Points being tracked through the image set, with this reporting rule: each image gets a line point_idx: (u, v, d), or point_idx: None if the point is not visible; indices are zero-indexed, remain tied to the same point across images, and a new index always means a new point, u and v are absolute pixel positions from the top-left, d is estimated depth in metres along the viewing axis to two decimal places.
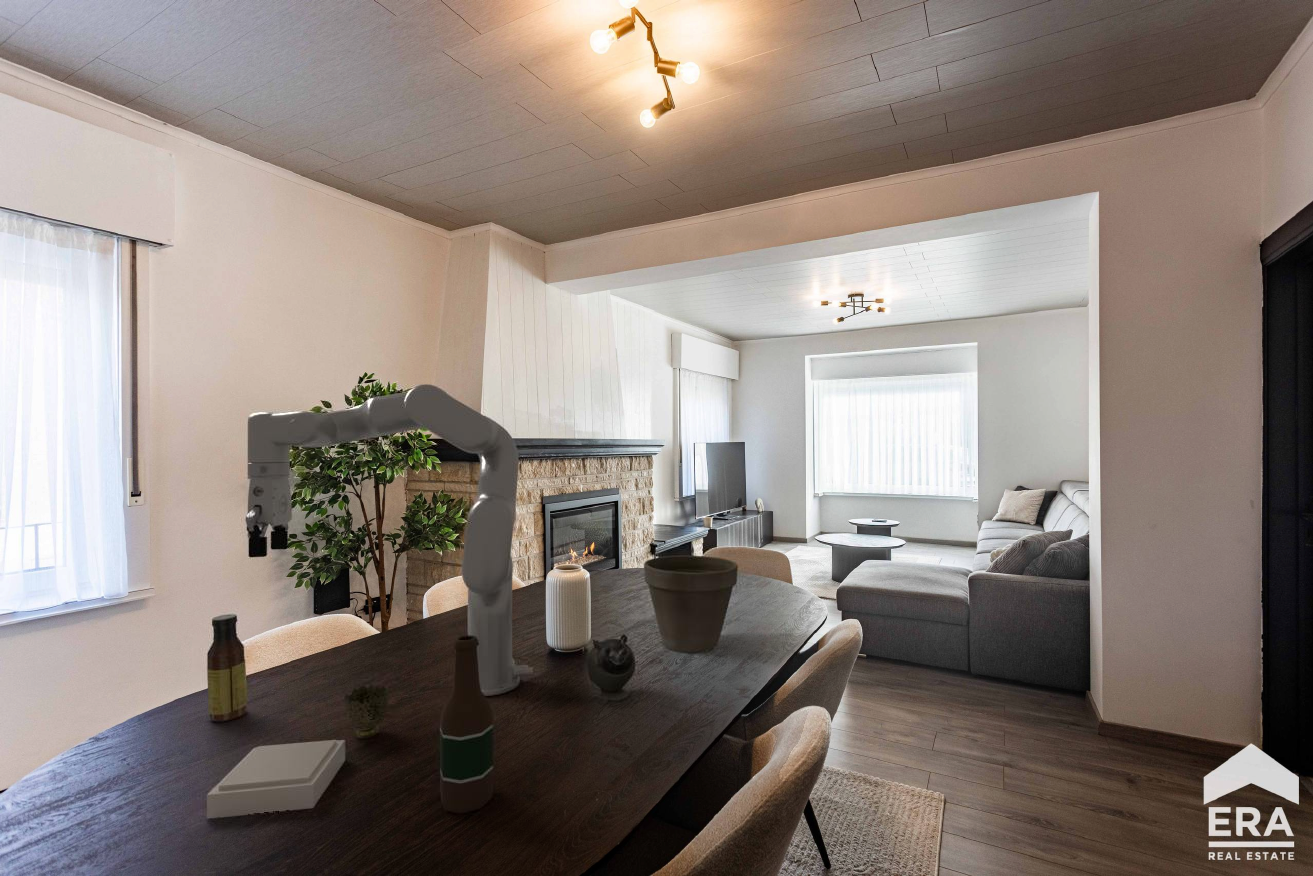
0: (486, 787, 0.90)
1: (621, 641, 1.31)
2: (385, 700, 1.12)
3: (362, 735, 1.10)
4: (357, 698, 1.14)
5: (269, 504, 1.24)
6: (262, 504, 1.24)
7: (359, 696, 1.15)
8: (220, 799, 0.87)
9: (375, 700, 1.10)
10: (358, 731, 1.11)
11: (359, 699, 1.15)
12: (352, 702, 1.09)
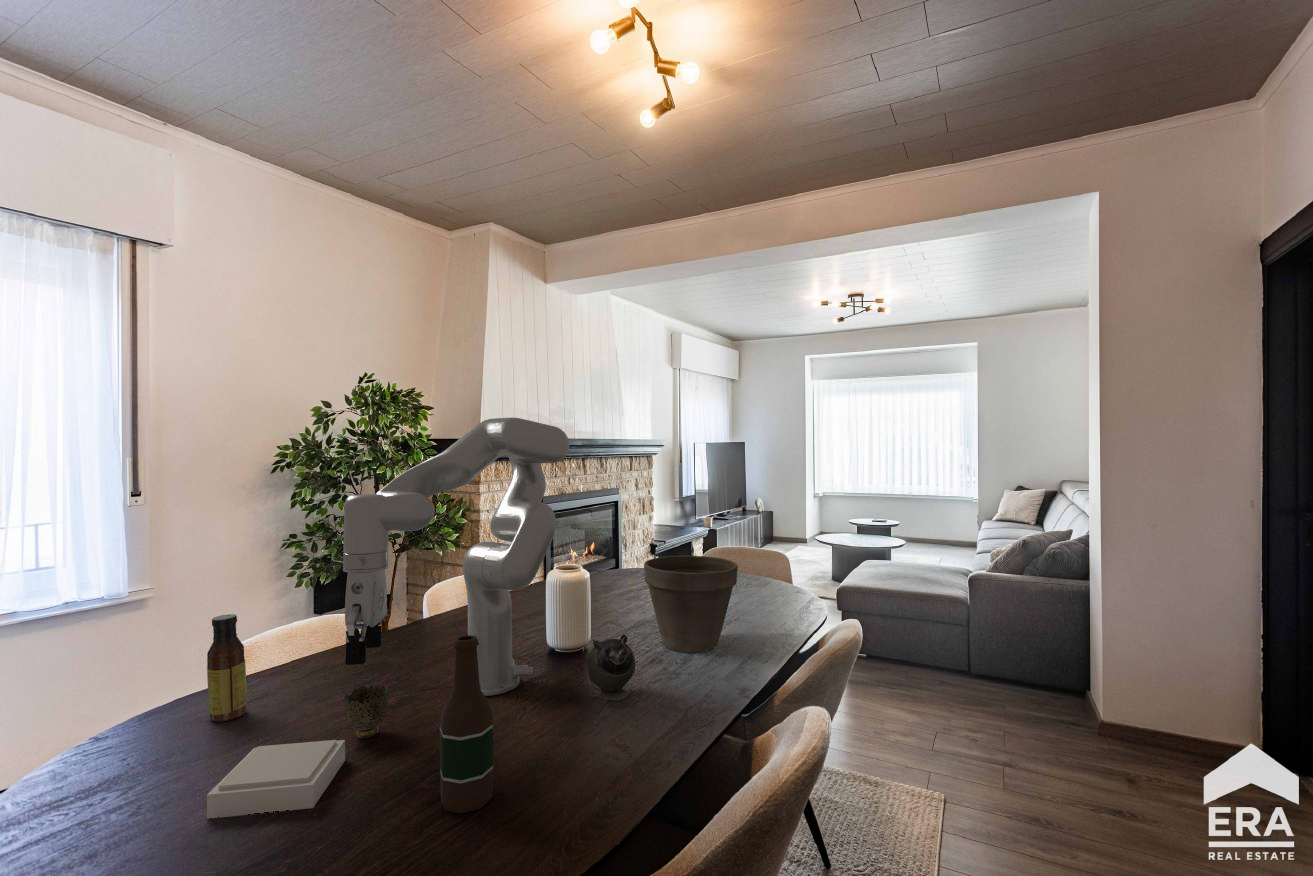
0: (486, 787, 0.90)
1: (621, 641, 1.31)
2: (385, 700, 1.12)
3: (362, 735, 1.10)
4: (357, 698, 1.14)
5: (369, 603, 1.08)
6: (362, 603, 1.08)
7: (359, 696, 1.15)
8: (220, 799, 0.87)
9: (375, 700, 1.10)
10: (358, 731, 1.11)
11: (359, 699, 1.15)
12: (352, 702, 1.09)
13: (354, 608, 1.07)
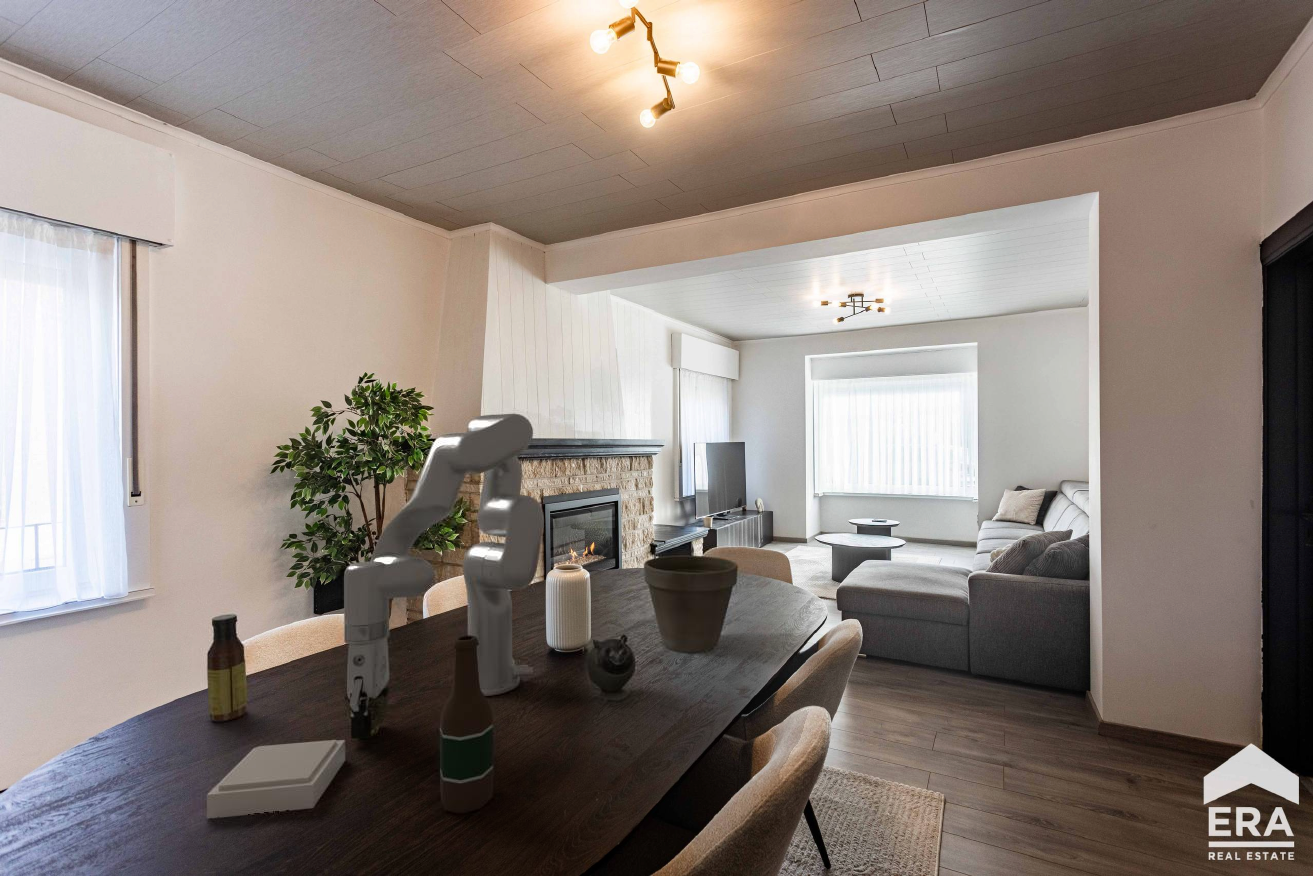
0: (486, 787, 0.90)
1: (621, 641, 1.31)
2: (385, 700, 1.12)
3: None
4: None
5: (371, 675, 1.08)
6: (364, 675, 1.08)
7: None
8: (220, 799, 0.87)
9: (375, 700, 1.10)
10: None
11: None
12: None
13: (356, 684, 1.07)
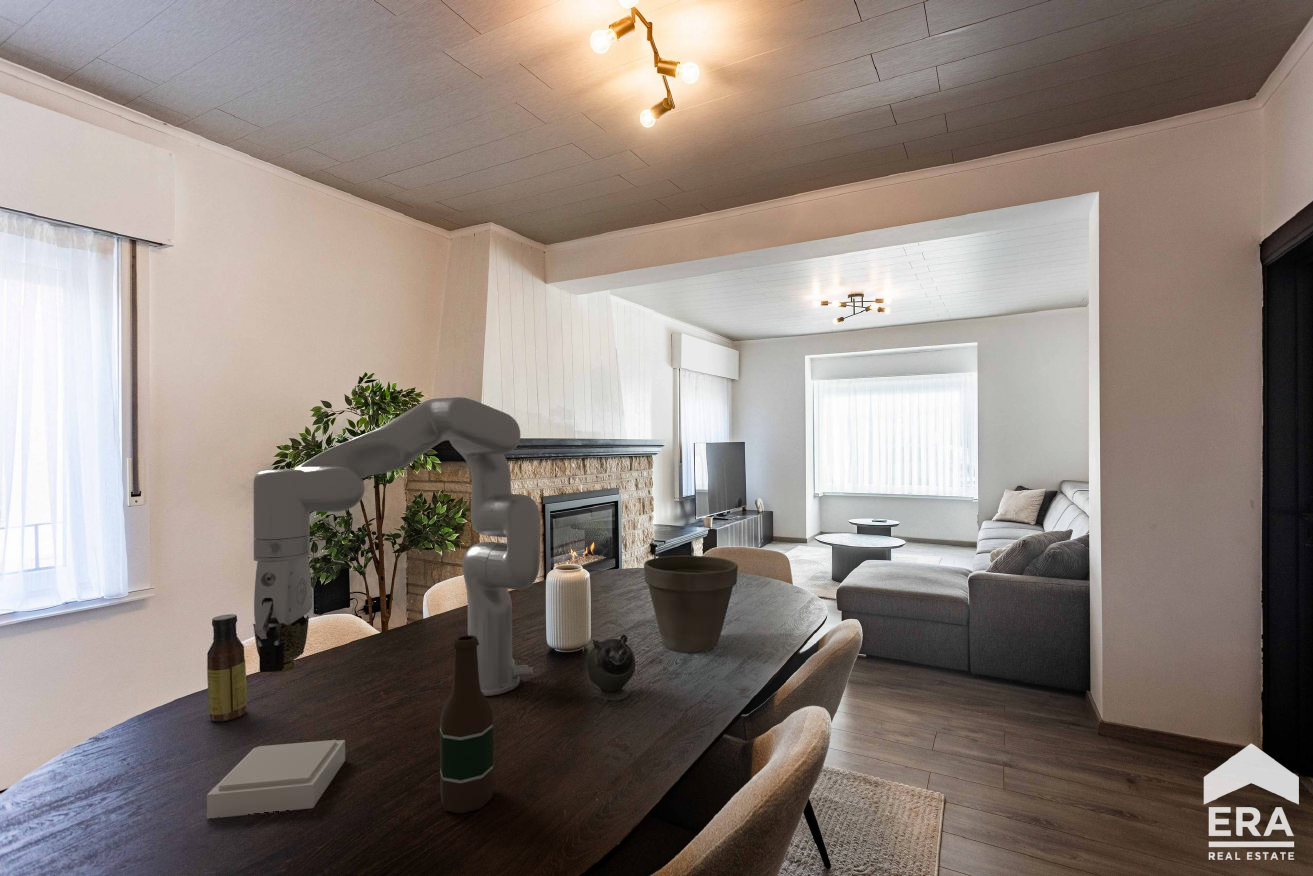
0: (486, 787, 0.90)
1: (621, 641, 1.31)
2: (302, 629, 0.95)
3: None
4: (272, 629, 0.98)
5: (283, 596, 0.91)
6: (274, 597, 0.91)
7: None
8: (220, 799, 0.87)
9: (289, 627, 0.93)
10: None
11: None
12: None
13: (265, 606, 0.90)
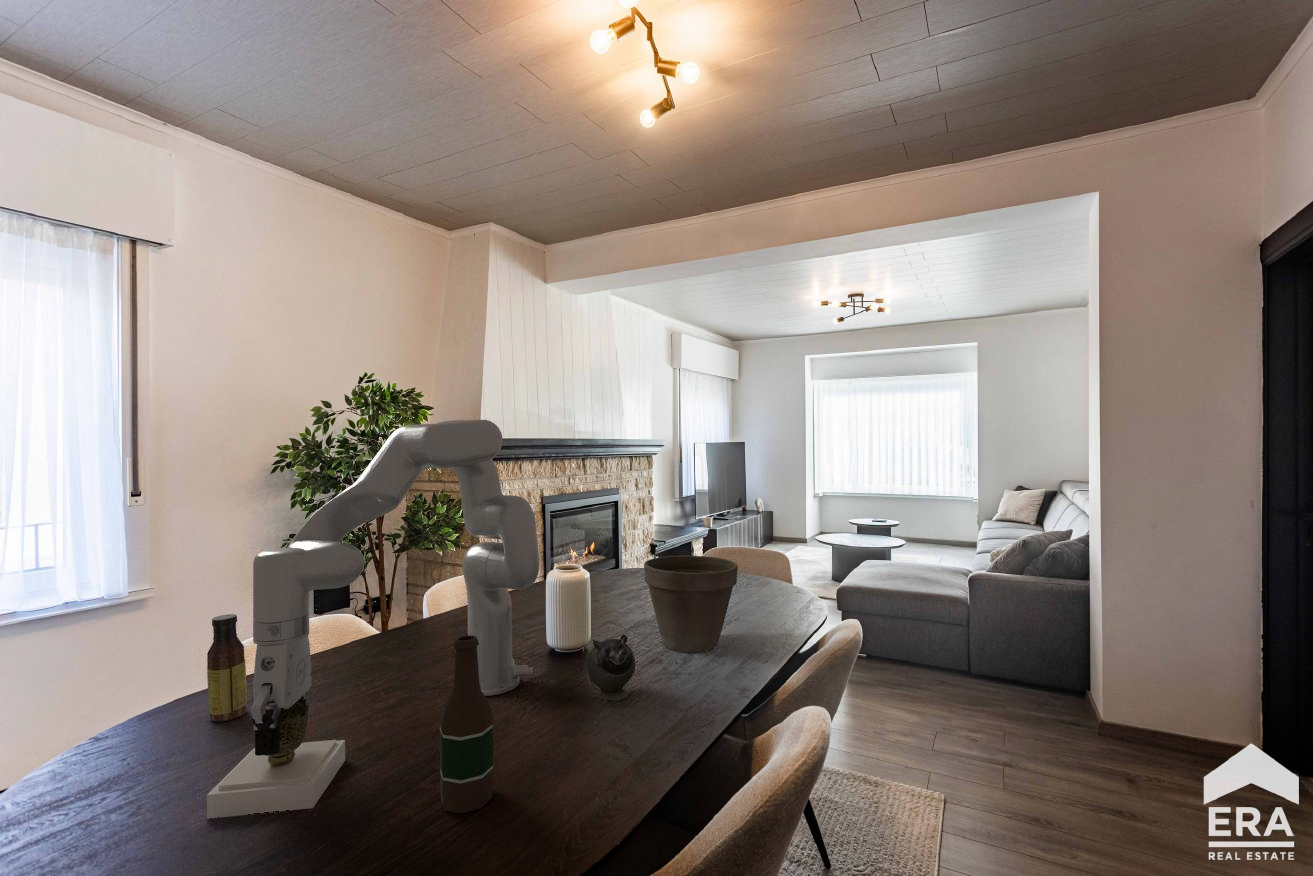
0: (486, 787, 0.90)
1: (621, 641, 1.31)
2: (302, 720, 0.95)
3: (274, 762, 0.93)
4: (271, 718, 0.97)
5: (283, 681, 0.91)
6: (273, 682, 0.91)
7: None
8: (220, 799, 0.87)
9: (289, 720, 0.93)
10: (269, 757, 0.94)
11: None
12: None
13: (263, 689, 0.90)
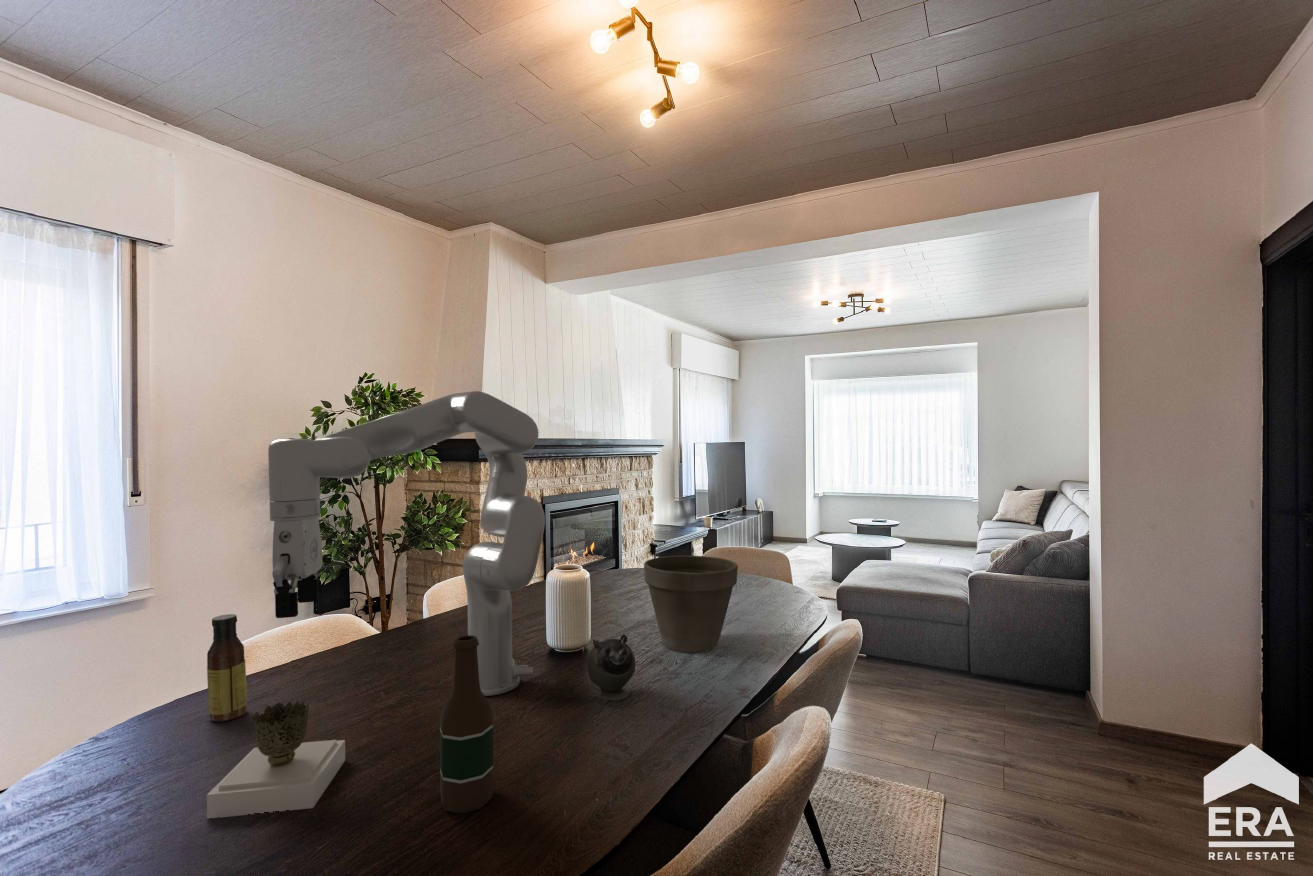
0: (486, 787, 0.90)
1: (621, 641, 1.31)
2: (302, 720, 0.95)
3: (274, 762, 0.93)
4: (271, 718, 0.97)
5: (299, 552, 1.01)
6: (291, 552, 1.01)
7: (274, 715, 0.97)
8: (220, 799, 0.87)
9: (289, 721, 0.93)
10: (269, 757, 0.94)
11: (274, 719, 0.97)
12: (260, 723, 0.92)
13: (282, 558, 1.00)
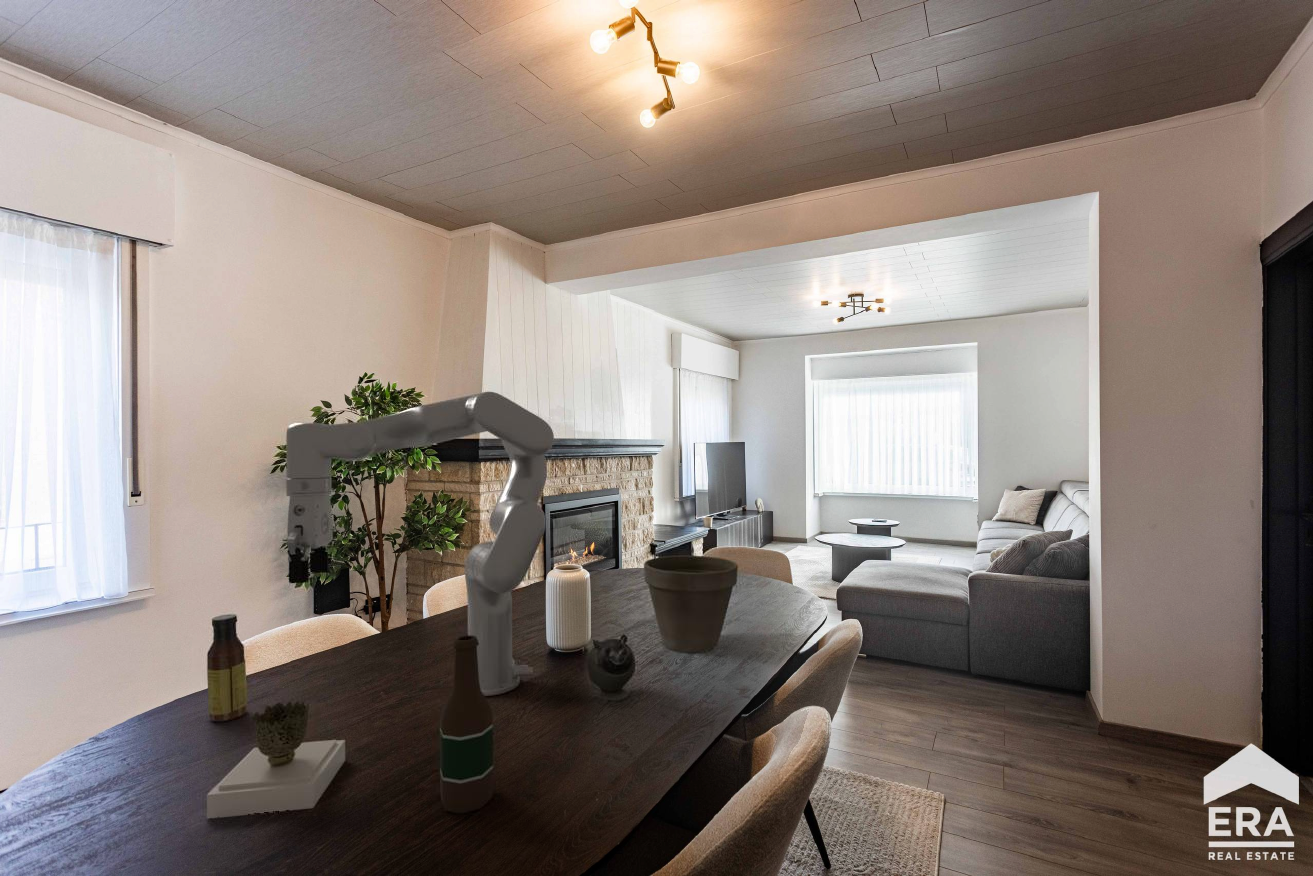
0: (486, 787, 0.90)
1: (621, 641, 1.31)
2: (302, 720, 0.95)
3: (274, 762, 0.93)
4: (271, 718, 0.97)
5: (311, 524, 1.12)
6: (303, 524, 1.12)
7: (274, 715, 0.97)
8: (220, 799, 0.87)
9: (289, 721, 0.93)
10: (269, 757, 0.94)
11: (274, 719, 0.97)
12: (260, 723, 0.92)
13: (296, 529, 1.11)
